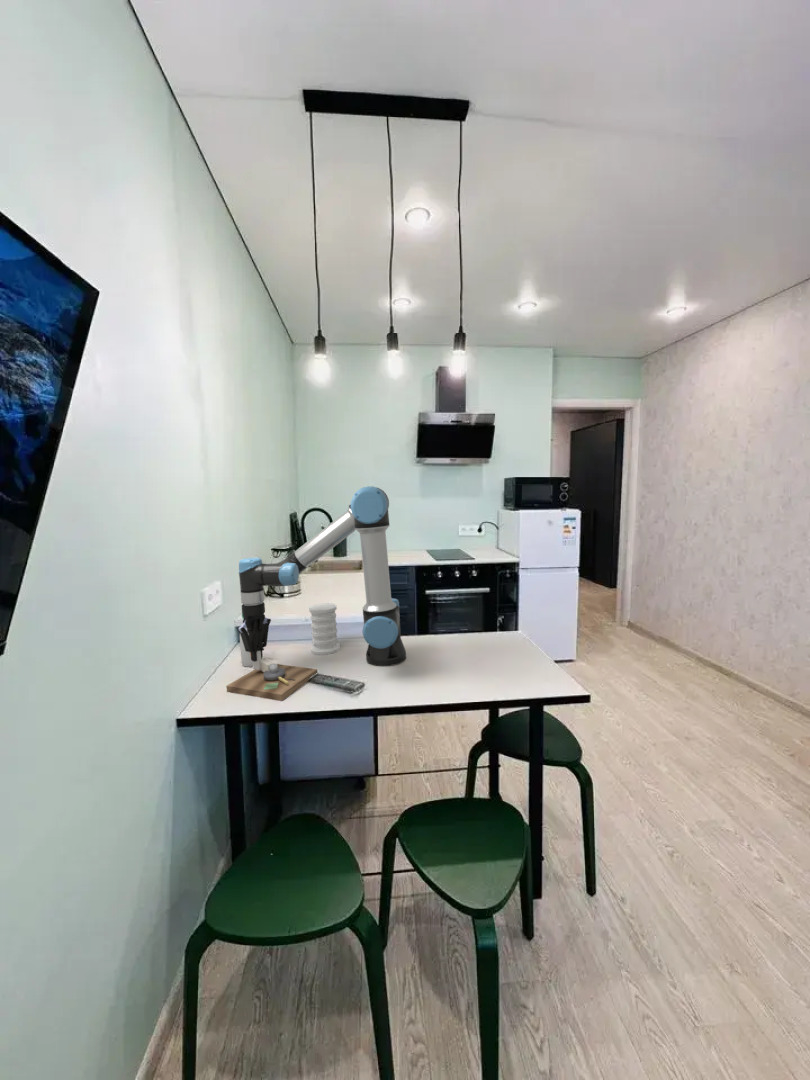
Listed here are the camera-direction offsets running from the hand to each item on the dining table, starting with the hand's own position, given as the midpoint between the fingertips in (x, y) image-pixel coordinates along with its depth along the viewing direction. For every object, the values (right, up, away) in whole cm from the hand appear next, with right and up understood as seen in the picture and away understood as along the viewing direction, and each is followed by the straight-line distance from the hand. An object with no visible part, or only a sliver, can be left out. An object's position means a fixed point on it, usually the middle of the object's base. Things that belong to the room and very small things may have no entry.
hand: (257, 669), depth 152 cm
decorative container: (+19, 0, +25) cm, 32 cm away
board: (+7, -4, -4) cm, 9 cm away
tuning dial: (+7, -2, -4) cm, 9 cm away
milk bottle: (-7, -2, +14) cm, 16 cm away
